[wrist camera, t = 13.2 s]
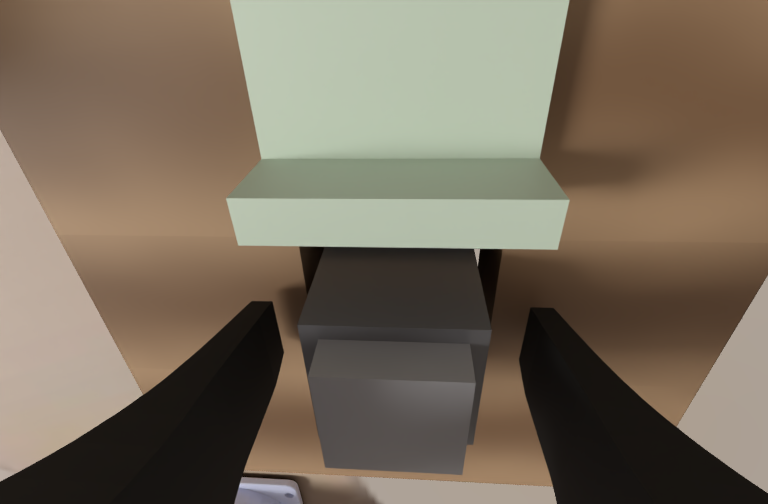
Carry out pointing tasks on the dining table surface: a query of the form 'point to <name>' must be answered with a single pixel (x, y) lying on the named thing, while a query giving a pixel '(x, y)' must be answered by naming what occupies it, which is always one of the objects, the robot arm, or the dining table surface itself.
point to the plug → (395, 356)
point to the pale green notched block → (399, 123)
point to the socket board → (496, 266)
